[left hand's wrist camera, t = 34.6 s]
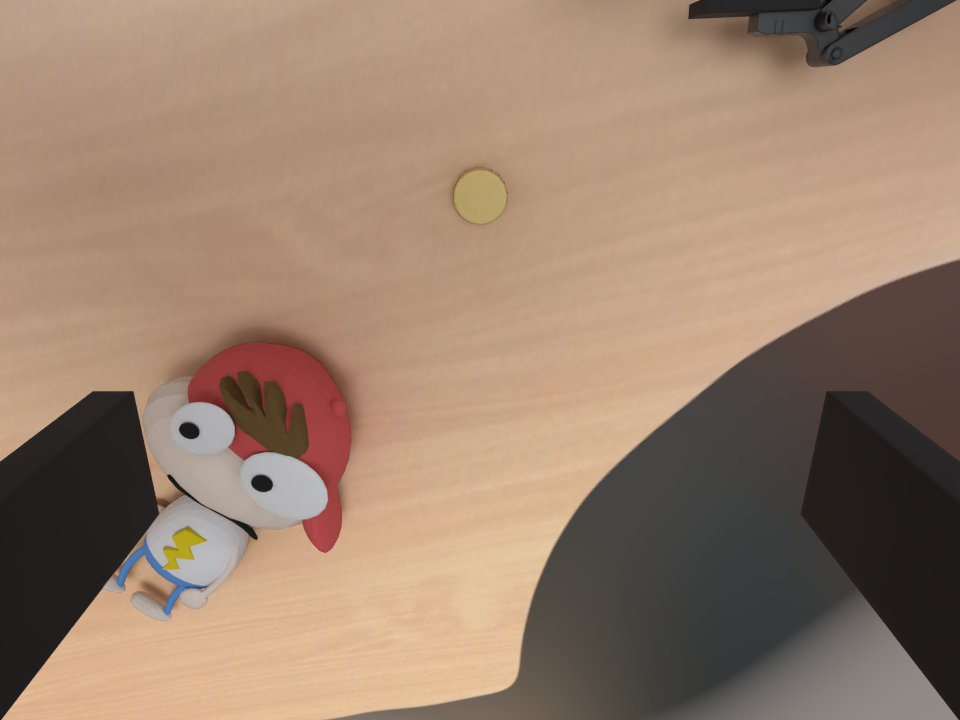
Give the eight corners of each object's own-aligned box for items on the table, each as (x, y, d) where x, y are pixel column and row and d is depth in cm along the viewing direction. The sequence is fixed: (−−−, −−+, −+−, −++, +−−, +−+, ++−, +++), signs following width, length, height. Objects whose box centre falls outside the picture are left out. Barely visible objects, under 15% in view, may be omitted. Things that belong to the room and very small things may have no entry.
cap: (516, 184, 47) (518, 187, 46) (489, 230, 49) (489, 235, 47) (470, 156, 47) (470, 158, 45) (444, 204, 48) (443, 207, 46)
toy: (-29, 575, 50) (206, 347, 40) (49, 486, 59) (258, 280, 48) (174, 689, 57) (421, 519, 46) (217, 593, 66) (433, 433, 55)
